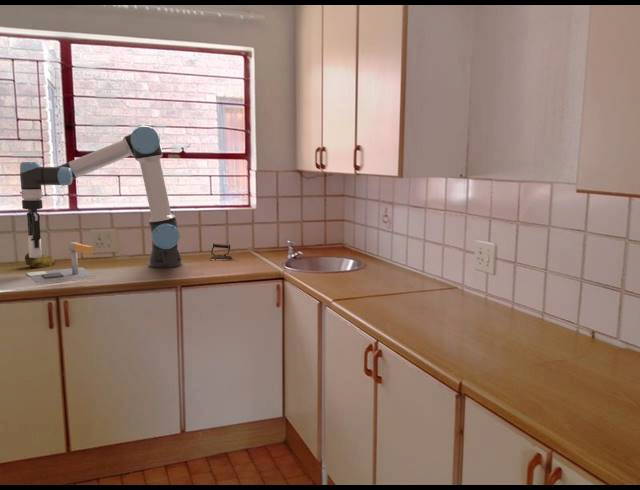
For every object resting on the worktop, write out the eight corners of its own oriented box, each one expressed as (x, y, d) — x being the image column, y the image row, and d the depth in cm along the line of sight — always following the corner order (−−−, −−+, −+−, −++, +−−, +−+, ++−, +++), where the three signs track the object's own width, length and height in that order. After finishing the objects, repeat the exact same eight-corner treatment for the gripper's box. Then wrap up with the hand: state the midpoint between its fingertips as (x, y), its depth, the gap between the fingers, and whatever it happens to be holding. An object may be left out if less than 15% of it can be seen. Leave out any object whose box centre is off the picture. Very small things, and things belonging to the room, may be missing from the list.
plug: (40, 255, 240) (39, 234, 238) (43, 257, 236) (41, 236, 234) (28, 256, 237) (26, 235, 235) (30, 258, 233) (29, 236, 232)
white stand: (82, 269, 253) (81, 245, 252) (95, 278, 237) (94, 252, 235) (26, 275, 240) (24, 250, 238) (36, 285, 223) (34, 258, 221)
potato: (58, 268, 255) (57, 251, 253) (27, 271, 247) (26, 254, 245) (53, 265, 261) (52, 248, 260) (23, 268, 253) (22, 251, 252)
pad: (44, 271, 242) (44, 270, 242) (48, 274, 237) (47, 273, 237) (26, 273, 238) (26, 272, 238) (29, 276, 233) (29, 275, 233)
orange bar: (67, 249, 238) (66, 242, 237) (76, 248, 241) (75, 241, 240) (86, 254, 228) (86, 247, 227) (95, 253, 231) (95, 246, 230)
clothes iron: (211, 258, 286) (215, 240, 285) (232, 264, 286) (237, 245, 285) (207, 260, 279) (212, 240, 278) (229, 265, 279) (234, 246, 278)
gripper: (18, 198, 237) (21, 252, 241) (26, 201, 223) (29, 258, 227) (37, 197, 242) (40, 250, 245) (46, 200, 228) (49, 256, 231)
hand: (35, 254), depth 236 cm, fingers closed on plug, 5 cm apart
